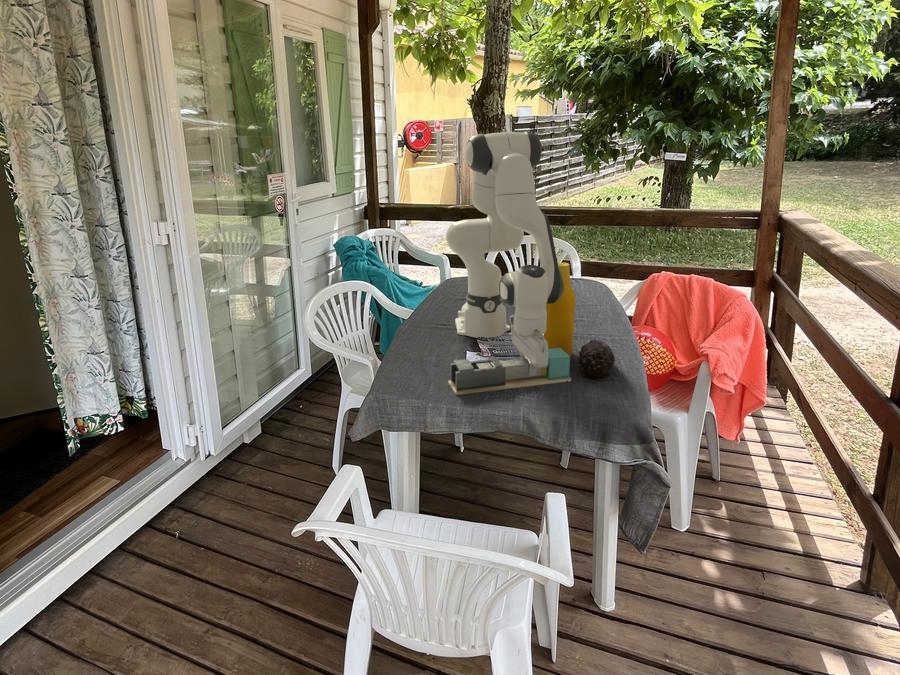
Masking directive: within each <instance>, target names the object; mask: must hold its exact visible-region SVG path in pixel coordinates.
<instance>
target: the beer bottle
mask: <svg viewBox="0 0 900 675" xmlns="http://www.w3.org/2000/svg"><path fill="white" fill-rule="evenodd" d="M558 266H559V270H560V272H561V275H562V279H563V283H564V291H563V294H562V295H561V297H560V298H559V299H558V300H557V301H556V302H555V303H553V304H546V312H547V322H546V332H545V333H544V334H543V336H544V339H545V340H546V341H547V343H548V349H553V348H561V349H562V350H563V351H564V352H565V353H567V354H568V355H569V356H570V357H571V356H572V354H573V348H574V347H573V346H574V328H575V314H576V295H575V292H574V289H573V287H572V284H571V271H570V267H571V266H570V263H568V262H558Z"/></svg>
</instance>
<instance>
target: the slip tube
mask: <svg viewBox="0 0 900 675" xmlns="http://www.w3.org/2000/svg"><path fill="white" fill-rule="evenodd" d="M499 362H500V363H501V364H502V366H505V367H506V378H505V380H506V379H515V378H523V377H532V376H543V375H548V366H547V367H545V368H537V369H536V375H530V374H529V373H528V368H530V362H529V361H528V360H527V359H526V358H524V359H521V358H517V359H516V358H515V359H509V360H506V359H505V360H499ZM492 367H494V366H493V365H492V364H491V363H490V362H488V363H479V364H476V369H483V368H492Z"/></svg>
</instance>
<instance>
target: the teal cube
mask: <svg viewBox="0 0 900 675" xmlns="http://www.w3.org/2000/svg"><path fill="white" fill-rule="evenodd" d="M570 365H571V356H569V355H568V354H567V353H565V352H564V351H563V350H562V349H561V348H553V349H548V375H544V376H545V377H546V378H547V379H548V380H556V379H565V378H569V377H570Z"/></svg>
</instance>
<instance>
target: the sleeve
mask: <svg viewBox="0 0 900 675" xmlns="http://www.w3.org/2000/svg"><path fill="white" fill-rule="evenodd" d="M499 361H500V359H499V358H497V357H496V356H495V355H494V356H493V355H491V356H488V357H487V359H481V360H480V359H479V360H472V361H471V360H469V359H468V358H467V359H465V358H464V359H455V360H453V363H449V366H450V367H449V368H450V371H449V372H450V373H449V376H450V377H449V378H450V379H449V380H450V381H451V383H452V385H453V386H454V388H455V389H456V391H462V390H471V389H479V388H488V387H496V386H505V378H506V367H505V366H502V364H501V363H500V362H499ZM488 362H490V363H491V364H492V365H493V366H494V367H492V368H483V369H476V364H479V363H488Z"/></svg>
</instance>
